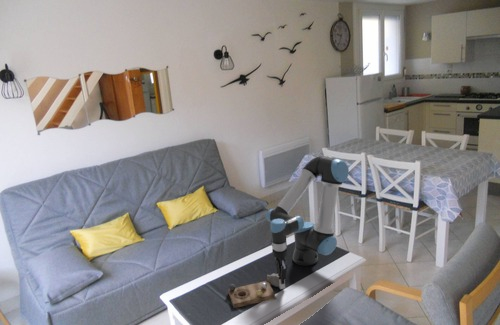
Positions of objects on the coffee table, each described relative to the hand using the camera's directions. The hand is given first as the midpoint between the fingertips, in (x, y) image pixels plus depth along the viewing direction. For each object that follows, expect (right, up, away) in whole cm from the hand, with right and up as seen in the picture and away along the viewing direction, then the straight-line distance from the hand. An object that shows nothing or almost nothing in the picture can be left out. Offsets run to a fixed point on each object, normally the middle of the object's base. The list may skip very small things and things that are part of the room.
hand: (282, 287), depth 202 cm
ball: (-10, +2, -2) cm, 10 cm away
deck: (-16, -3, -2) cm, 17 cm away
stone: (-3, 0, +6) cm, 7 cm away
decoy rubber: (-27, +1, -1) cm, 27 cm away
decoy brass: (-12, 0, -8) cm, 15 cm away
